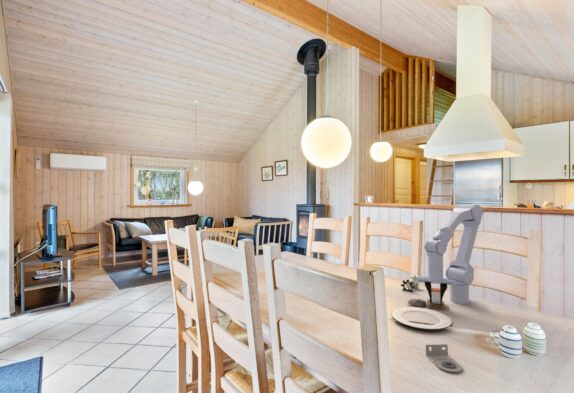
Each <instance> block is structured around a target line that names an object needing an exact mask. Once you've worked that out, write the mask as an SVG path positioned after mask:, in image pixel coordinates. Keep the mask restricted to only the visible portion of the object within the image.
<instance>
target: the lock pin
mask: <svg viewBox="0 0 574 393" xmlns="http://www.w3.org/2000/svg"><path fill="white" fill-rule="evenodd" d="M431 296H432V301H431V304H437V305H440V287H439V288H437V287H431Z"/></svg>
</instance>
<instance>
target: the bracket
mask: <svg viewBox="0 0 574 393" xmlns="http://www.w3.org/2000/svg"><path fill="white" fill-rule="evenodd" d="M448 347H449V346H448V344H447V343H446V344H443V343H442V344H439V343H437V344H425V356H449V352H448V350H449V348H448ZM430 348H431V349H430ZM443 348H445V349H443ZM440 359H441V360H433V361H431V362H432V363H433V364H434V365H435V366H436V367H437V368H438V369H440V370H442V371H445V372H449V373H459V372H462V371H463V367H462V366H463V365H461V364H459V363H458V362H457V361H456V360H454V359H453V358H440Z"/></svg>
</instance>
